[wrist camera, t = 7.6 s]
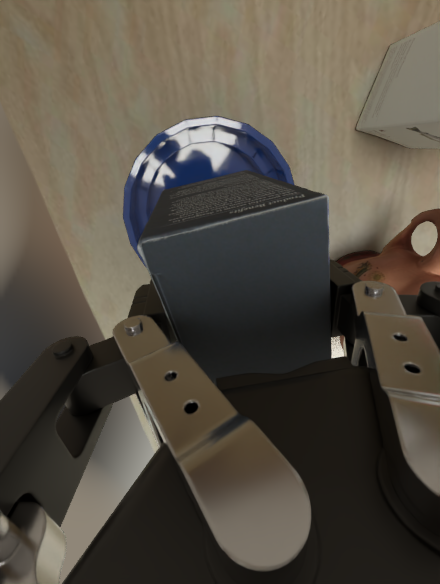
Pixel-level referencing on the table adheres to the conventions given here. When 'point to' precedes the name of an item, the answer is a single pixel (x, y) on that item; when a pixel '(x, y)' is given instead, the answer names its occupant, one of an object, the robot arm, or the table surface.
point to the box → (243, 272)
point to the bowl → (195, 163)
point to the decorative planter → (399, 261)
